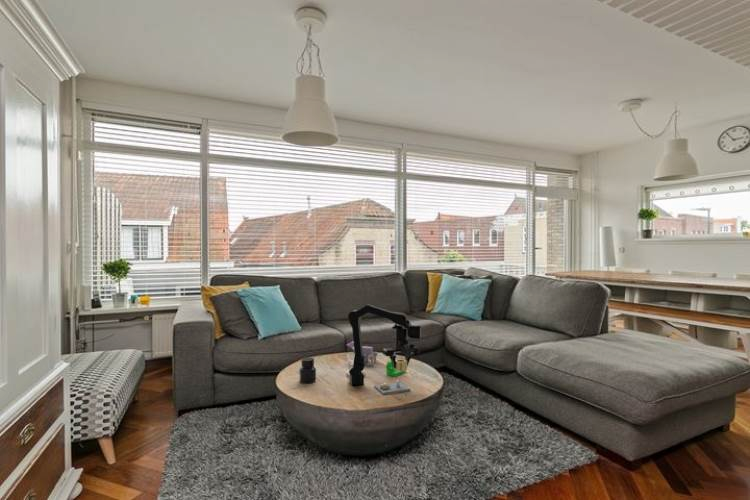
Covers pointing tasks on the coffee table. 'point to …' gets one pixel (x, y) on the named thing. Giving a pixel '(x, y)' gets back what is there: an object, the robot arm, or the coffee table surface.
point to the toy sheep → (366, 352)
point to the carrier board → (392, 388)
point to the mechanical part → (392, 370)
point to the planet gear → (401, 365)
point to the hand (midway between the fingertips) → (400, 367)
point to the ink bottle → (307, 370)
